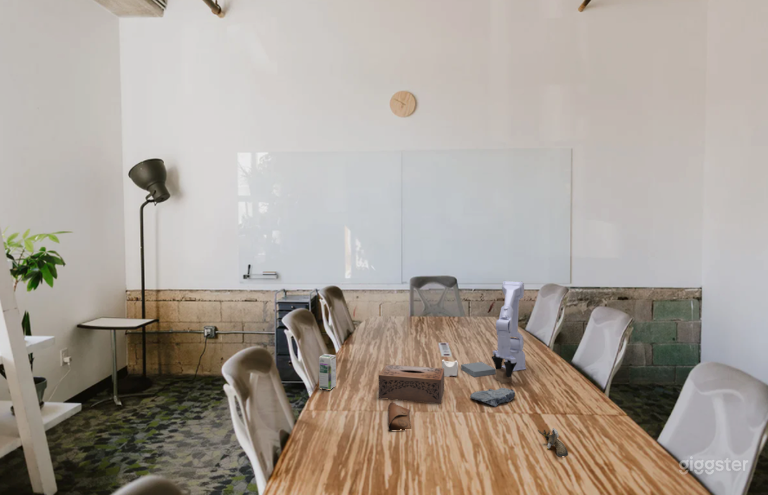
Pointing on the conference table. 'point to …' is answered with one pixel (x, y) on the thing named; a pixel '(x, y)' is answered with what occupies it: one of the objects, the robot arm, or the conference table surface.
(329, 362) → the syrup box
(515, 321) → the robot arm
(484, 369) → the base slab
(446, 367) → the bracket
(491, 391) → the fossil
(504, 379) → the walnut cube
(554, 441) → the grey-brown figure
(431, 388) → the tissue box cover
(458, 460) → the conference table surface
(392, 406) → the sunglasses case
